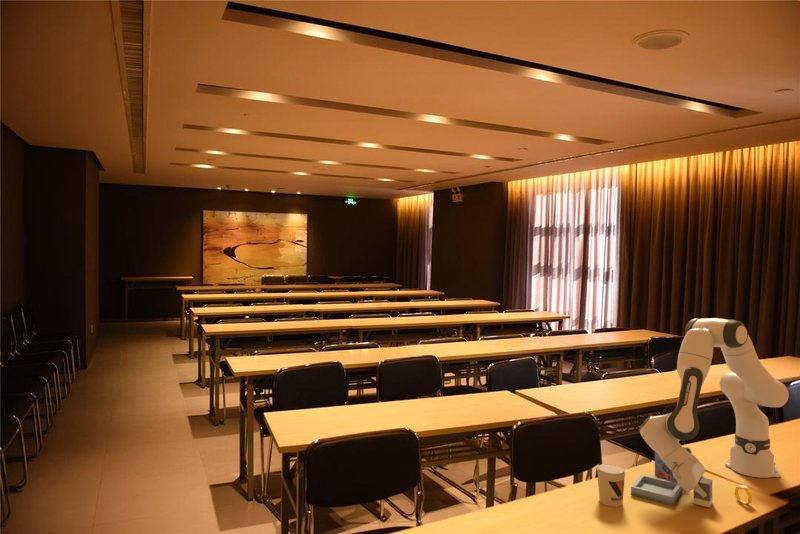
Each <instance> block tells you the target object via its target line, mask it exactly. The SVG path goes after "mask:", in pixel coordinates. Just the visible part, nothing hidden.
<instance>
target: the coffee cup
mask: <svg viewBox="0 0 800 534" xmlns="http://www.w3.org/2000/svg"><path fill="white" fill-rule="evenodd" d="M596 471H597V484H598V485H597V487H598V496H599V497H598V498H599V502H600V503H601V504H603V505H605V506H607V507H612V508H614V507H615V508H616V507H621V506H622V505H623V504H624V503H623V501H624V491H625V490H624V489H625V478H626V477H625V475H626V471H625V469H624V468H623V467H622V466H620V465H617V464H612V463H603V464H602V463H601V464H599V465H598V466H597V468H596Z"/></svg>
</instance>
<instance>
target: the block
mask: <svg viewBox="0 0 800 534" xmlns="http://www.w3.org/2000/svg"><path fill="white" fill-rule="evenodd" d="M698 485H699V486H700V488H702V489H703V490H705V491H706V492H707V496H706V497H704V498H703V497H702V496H701V495H700V494H699V493H697V492H696V491H694V490H692V491H693V494H692V495H693V496H692V499H693V500H692V501H693V502H692V503H693V505H694V506H698V507H702V508H705V509H709V510H710V508H711V507H712V505H713V479H710V478H707V477H704V478H702V477H701V479H700V480H699V482H698Z"/></svg>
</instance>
